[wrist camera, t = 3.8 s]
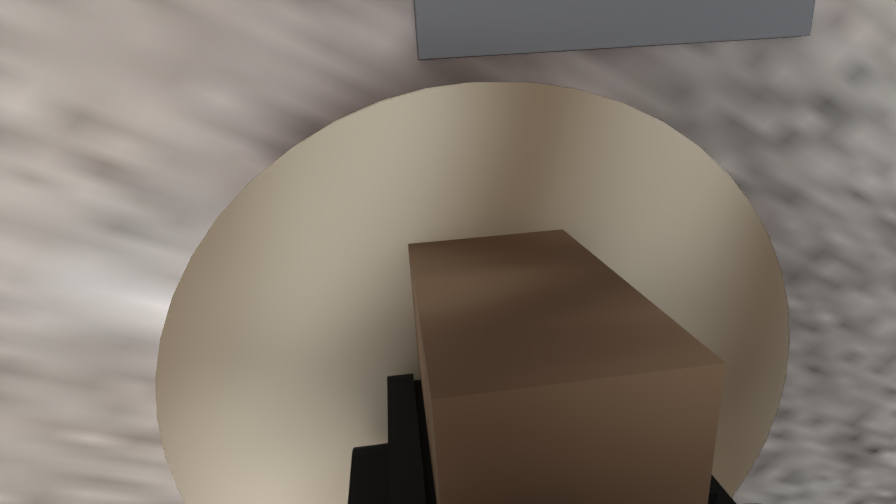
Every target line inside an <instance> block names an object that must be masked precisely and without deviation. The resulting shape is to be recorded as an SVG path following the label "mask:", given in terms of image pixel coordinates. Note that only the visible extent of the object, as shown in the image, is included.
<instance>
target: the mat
mask: <svg viewBox="0 0 896 504" xmlns="http://www.w3.org/2000/svg"><path fill="white" fill-rule="evenodd" d="M814 5H815V0H414V12H415V25H416V38H417V52H418V60H428V59H444V58H460V57H477V56H493V55H509V54H526V53H542V52H559V51H575V50H591V49H608V48H624V47H640V46H657V45H673V44H690V43H706V42H722V41H739V40H755V39H771V38H788V37H801V36H810V31H811V25H812V18H813V12H814Z"/></svg>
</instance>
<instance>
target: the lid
mask: <svg viewBox="0 0 896 504" xmlns="http://www.w3.org/2000/svg"><path fill="white" fill-rule="evenodd" d="M788 351H789V313H788V303H787V297H786V292H785V287H784V281H783V276H782V271H781V268H780V265H779V263H778V260H777V257H776V254H775V251H774V248H773V245H772V243H771V240H770V237H769V235H768V233H767V232H766V230H765V228H764V226H763V224H762V222H761V221H760V219H759V217H758V215H757V213H756V211H755V209H754V208H753V206H752V204H751V203H750V201H749V200H748V199H747V198H746V196H745V195H744V194H743V192H742V191H741V190H740V188H739V187H738V186H737V185H736V183H735V182H734V181H733V179H732V178H731V177H730V175H729V174H728V173H727V172H726V171H725V170H724V169H723V168H722V167H720V166H719V165H718V164H717V163H716V162H715V161H714V160H713V159H712V158H711V157H710V156H709V155H708V154H707V153H706V152H705V151H704V150H702V149H701V148H700V147H699V146H698V145H697V144H695V143H694V142H692V141H691V140H689V139H688V138H686V137H685V136H683V135H682V134H680V133H679V132H677V131H676V130H675V129H673V128H672V127H670V126H669V125H667V124H666V123H664V122H663V121H660V120H658V119H656V118H654V117H652V116H650V115H648V114H646V113H644V112H641V111H639V110H637V109H635V108H633V107H631V106H629V105H627V104H625V103H622V102H619V101H616V100H612V99H609V98H606V97H602V96H599V95H596V94H592V93H589V92H586V91H582V90H579V89H573V88H566V87H559V86H552V85H546V84H539V83H532V82H466V83H459V84H452V85H444V86H437V87H430V88H423V89H420V90H416V91H413V92H409V93H405V94H402V95H398V96H395V97H391V98H388V99H384V100H380V101H378V102H376V103H373V104H371V105H369V106H367V107H364V108H362V109H360V110H357V111H355V112H353V113H351V114H348V115H346V116H344V117H341V118H339V119H337V120H335V121H334V122H332V123H331V124H329V125H327V126H326V127H324V128H322V129H321V130H319V131H317V132H316V133H314V134H313V135H311V136H309V137H308V138H306V139H304V140H303V141H301V142H300V143H298V144H297V145H295V146H294V147H293V148H291V149H290V150H288V151H287V152H286V153H285V154H284V155H282V156H281V157H280V158H279V159H277V160H276V161H275V162H274V163H273V164H271V165H270V166H269V167H268V168H267V169H265V170H264V171H263V172H262V173H260V174H259V175H258V176H257V177H256V178H254V179H253V180H252V181H251V182H250V183H249V184H248V185H247V186H246V187H245V188H244V189H243V190H242V191H241V193H240V194H239V195H238V196H237V197H236V198H235V199H234V200H233V201H232V202H231V204H230V205H229V206H228V207H227V208H226V209H225V210H224V211H223V212H222V213H221V215H220V216H219V217H218V218H217V219H216V221H215V222H214V224H213V225H212V227H211V228H210V230H209V231H208V233H207V234H206V236H205V237H204V239H203V240H202V242H201V243H200V245H199V246H198V248H197V249H196V251H195V252H194V254H193V255H192V257H191V258H190V261H189V263H188V265H187V267H186V269H185V271H184V273H183V276H182V278H181V280H180V282H179V284H178V286H177V288H176V291H175V293H174V295H173V297H172V300H171V304H170V307H169V310H168V314H167V317H166V321H165V324H164V328H163V331H162V335H161V338H160V346H159V354H158V363H157V371H156V403H157V420H158V425H159V430H160V434H161V439H162V444H163V449H164V454H165V457H166V460H167V462H168V465H169V468H170V470H171V473H172V475H173V478H174V481H175V483H176V486H177V489H178V491H179V492H180V494H181V496H182V498H183V499H184V501H185V503H186V504H348V494H349V482H350V470H351V458H352V450H353V448H354V447H361V446H369V445H376V444H384V443H388V410H387V376H394V375H403V374H411V373H413V376H414V380H421V385H422V393H423V400H424V408H425V416H426V424H427V432H428V440H429V448H430V456H431V464H432V472H433V480H434V488H435V496H436V504H708V498H709V490H710V482H711V475H713V476H714V478H715V479H716V480H717V481H718V482H719V484H720V485H721V486H722V487H723V488H724V490H725V491H726V492H727V493H728V494H729V496H730V497H731V498H732V497H733V495H734V494H735V492H736V491H737V489H738V488H739V487H740V485H741V484H742V482H743V481H744V479H745V478H746V476H747V475H748V473H749V472H750V470H751V468H752V466H753V464H754V462H755V460H756V459H757V457H758V455H759V453H760V451H761V449H762V447H763V445H764V443H765V441H766V439H767V436H768V434H769V431H770V428H771V426H772V423H773V421H774V418H775V415H776V413H777V410H778V406H779V402H780V398H781V394H782V390H783V386H784V382H785V378H786V370H787V361H788Z"/></svg>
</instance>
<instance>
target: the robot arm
mask: <svg viewBox="0 0 896 504" xmlns="http://www.w3.org/2000/svg"><path fill="white" fill-rule="evenodd" d="M387 410H388V443H384V444H376V445H369V446H361V447H354V448H353V450H352V458H351V470H350V482H349V494H348V504H436V496H435V488H434V480H433V472H432V464H431V456H430V448H429V440H428V432H427V424H426V416H425V408H424V400H423V393H422V385H421V380H414V376H413V373H411V374H403V375H394V376H387ZM708 504H736V503H735V502H734V500H733V499H732V498H731V497H730V496H729V494H728V493H727V492H726V491H725V490H724V488H723V487H722V486H721V485H720V484H719V482H718V481H717V480H716V479H715V478H714V476H713V475H711V482H710V490H709V498H708ZM745 504H759V503H745Z"/></svg>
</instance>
